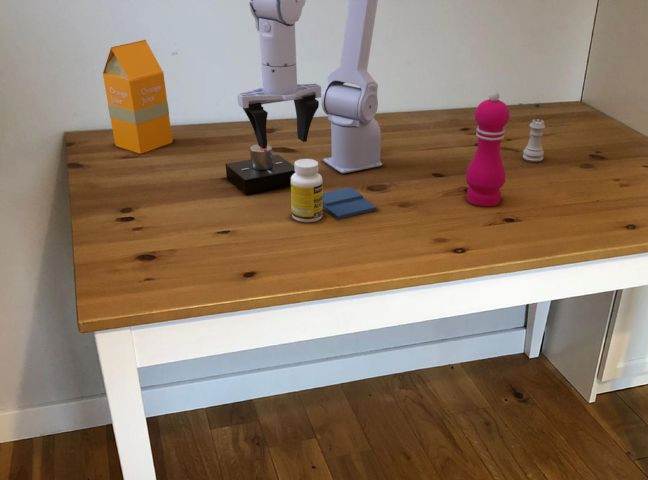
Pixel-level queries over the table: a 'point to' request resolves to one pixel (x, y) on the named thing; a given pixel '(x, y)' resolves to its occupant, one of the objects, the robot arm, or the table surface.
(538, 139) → the rook chess piece
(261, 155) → the knob
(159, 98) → the orange juice
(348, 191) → the dish cloth
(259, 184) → the panel
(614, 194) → the table surface
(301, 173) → the supplement bottle
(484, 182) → the pepper mill
